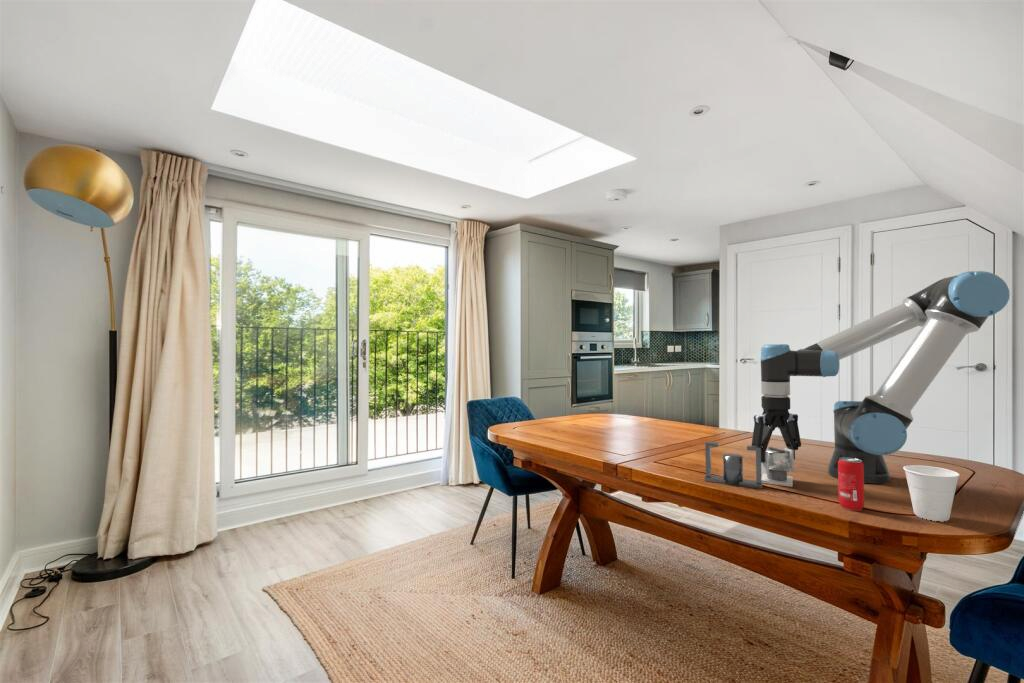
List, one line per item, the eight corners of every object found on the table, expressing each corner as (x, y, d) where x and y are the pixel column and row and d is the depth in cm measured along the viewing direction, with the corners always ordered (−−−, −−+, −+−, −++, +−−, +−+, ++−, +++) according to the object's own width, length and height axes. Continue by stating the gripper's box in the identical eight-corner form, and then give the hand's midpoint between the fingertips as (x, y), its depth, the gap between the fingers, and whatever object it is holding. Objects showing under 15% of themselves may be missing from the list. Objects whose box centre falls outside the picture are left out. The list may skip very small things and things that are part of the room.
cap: (801, 471, 135) (800, 452, 135) (781, 473, 133) (781, 453, 133) (772, 462, 145) (772, 444, 145) (754, 464, 144) (753, 445, 144)
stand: (792, 479, 141) (792, 466, 141) (792, 486, 134) (792, 472, 134) (762, 475, 145) (762, 463, 145) (760, 482, 138) (760, 469, 138)
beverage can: (833, 504, 119) (832, 457, 119) (852, 503, 119) (851, 456, 120) (850, 511, 114) (849, 462, 114) (869, 510, 114) (868, 461, 114)
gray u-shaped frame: (762, 484, 136) (762, 445, 136) (761, 489, 132) (760, 449, 132) (707, 477, 144) (706, 440, 144) (704, 481, 140) (703, 443, 140)
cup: (914, 522, 107) (914, 474, 107) (896, 507, 116) (896, 463, 116) (970, 528, 103) (969, 478, 103) (947, 512, 112) (946, 466, 112)
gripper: (794, 393, 145) (795, 466, 145) (736, 395, 141) (737, 471, 140) (815, 395, 138) (816, 472, 138) (754, 398, 133) (756, 478, 133)
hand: (776, 471), depth 139 cm, fingers open, 8 cm apart
